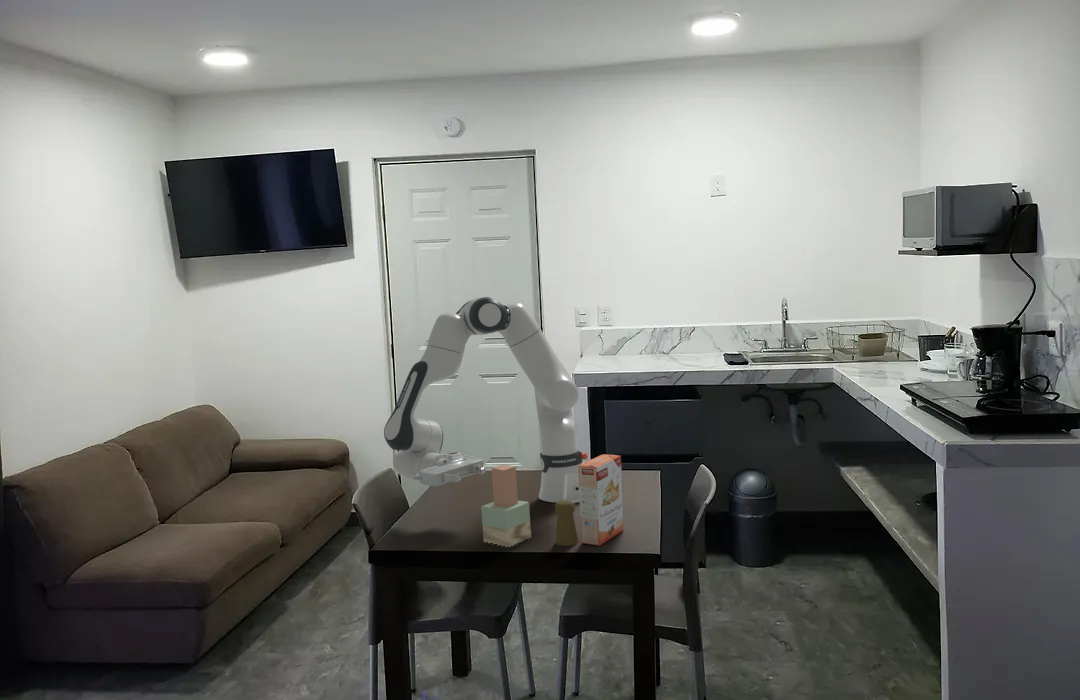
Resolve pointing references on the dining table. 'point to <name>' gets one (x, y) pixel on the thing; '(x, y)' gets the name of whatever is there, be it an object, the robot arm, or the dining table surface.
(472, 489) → the dining table surface
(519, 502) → the green block
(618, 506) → the cracker box
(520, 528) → the beech block
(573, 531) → the cork
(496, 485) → the rust block
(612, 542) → the dining table surface
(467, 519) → the dining table surface
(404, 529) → the dining table surface
